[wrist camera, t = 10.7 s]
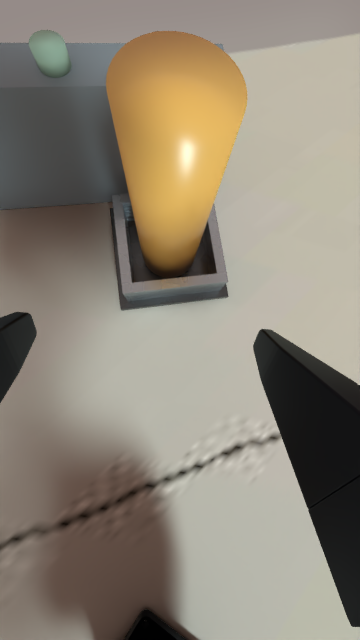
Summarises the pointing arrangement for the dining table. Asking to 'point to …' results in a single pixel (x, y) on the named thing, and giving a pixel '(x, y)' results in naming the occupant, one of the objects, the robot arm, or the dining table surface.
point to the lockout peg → (174, 138)
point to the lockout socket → (155, 290)
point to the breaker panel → (57, 124)
